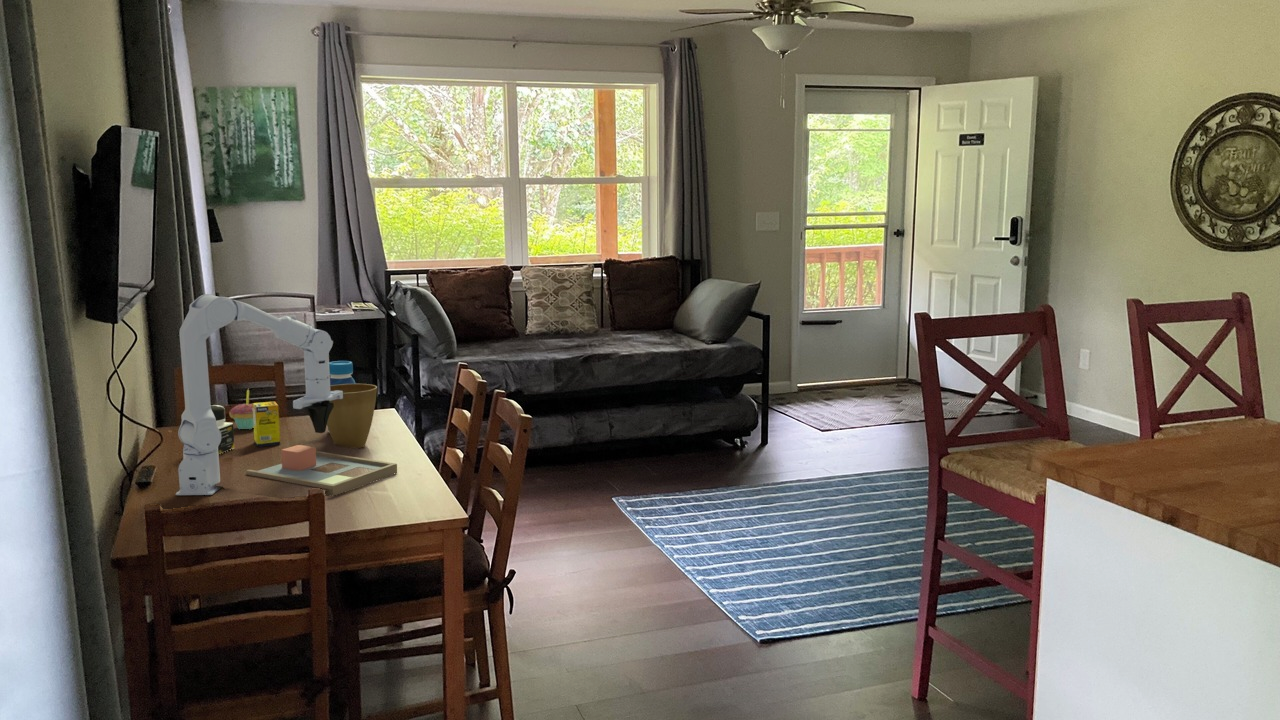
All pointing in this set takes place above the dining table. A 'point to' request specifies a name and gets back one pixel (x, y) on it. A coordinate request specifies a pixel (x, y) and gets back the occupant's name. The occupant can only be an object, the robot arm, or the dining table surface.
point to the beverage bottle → (341, 373)
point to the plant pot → (352, 414)
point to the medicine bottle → (223, 429)
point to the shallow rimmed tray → (330, 473)
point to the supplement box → (266, 423)
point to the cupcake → (243, 414)
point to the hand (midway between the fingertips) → (320, 432)
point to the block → (298, 457)
